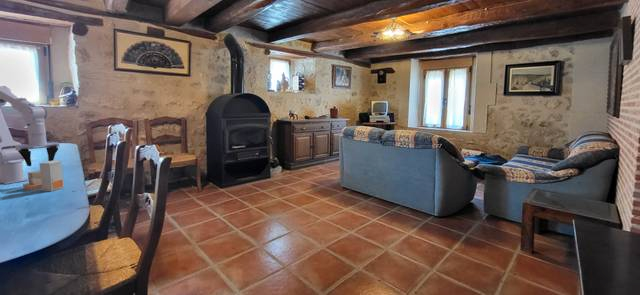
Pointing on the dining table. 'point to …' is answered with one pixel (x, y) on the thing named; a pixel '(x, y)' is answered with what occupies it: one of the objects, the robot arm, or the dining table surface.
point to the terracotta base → (32, 187)
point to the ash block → (34, 177)
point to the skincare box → (51, 175)
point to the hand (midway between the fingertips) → (40, 164)
